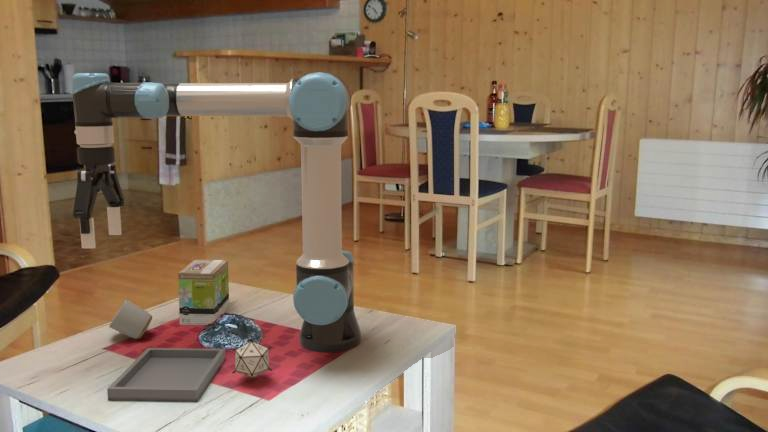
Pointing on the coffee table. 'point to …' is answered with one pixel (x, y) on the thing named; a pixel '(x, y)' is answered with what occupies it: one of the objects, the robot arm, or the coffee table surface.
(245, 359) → the game die
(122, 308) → the soft-edged grey cube
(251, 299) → the coffee table surface
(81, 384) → the coffee table surface
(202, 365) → the tray
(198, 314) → the tea box
